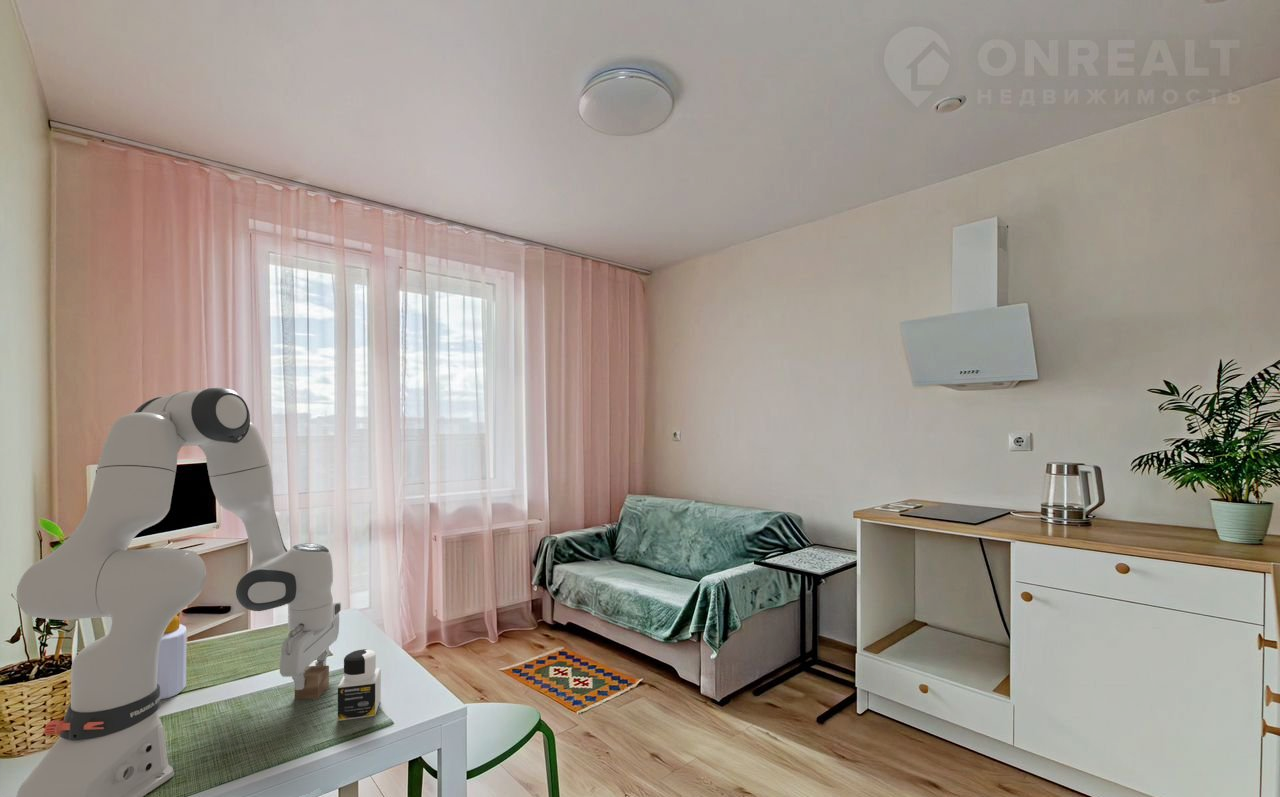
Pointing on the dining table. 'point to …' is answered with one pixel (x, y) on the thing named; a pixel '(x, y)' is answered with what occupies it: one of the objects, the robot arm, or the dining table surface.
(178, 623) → the soap bottle
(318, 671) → the walnut cube
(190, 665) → the dining table surface
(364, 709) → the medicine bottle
